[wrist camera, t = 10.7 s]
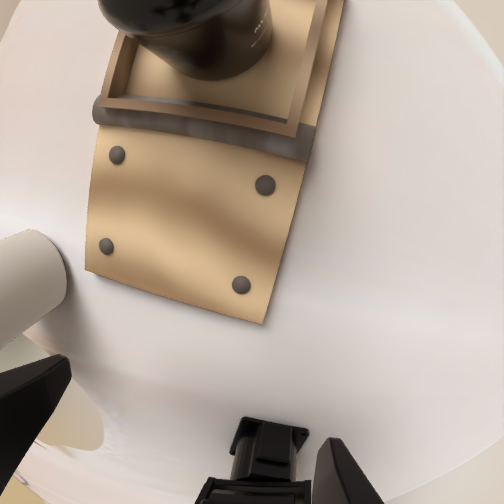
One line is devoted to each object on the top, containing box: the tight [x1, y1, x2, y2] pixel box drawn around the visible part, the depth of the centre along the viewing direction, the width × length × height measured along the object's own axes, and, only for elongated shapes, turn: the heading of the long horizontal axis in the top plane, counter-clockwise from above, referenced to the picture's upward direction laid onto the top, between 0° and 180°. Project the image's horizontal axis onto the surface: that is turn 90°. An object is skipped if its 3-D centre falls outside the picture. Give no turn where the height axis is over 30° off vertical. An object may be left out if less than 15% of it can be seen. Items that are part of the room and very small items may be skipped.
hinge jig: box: [85, 0, 344, 324], centre depth 17 cm, size 24×14×3 cm, turn 167°
